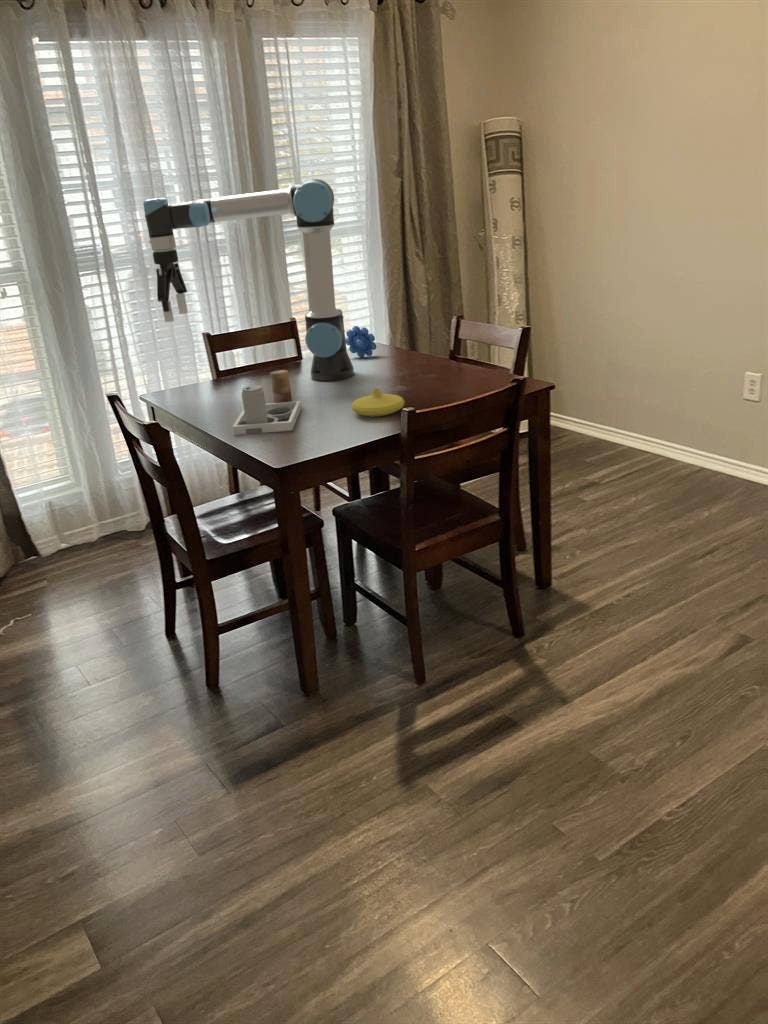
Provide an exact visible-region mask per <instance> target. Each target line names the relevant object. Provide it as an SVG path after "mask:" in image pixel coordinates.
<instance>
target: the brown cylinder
mask: <svg viewBox="0 0 768 1024" xmlns="http://www.w3.org/2000/svg"><path fill="white" fill-rule="evenodd" d="M269 374H270V382H271V383H270V384H271V389H272V395H273V396H272V397H273V403H280V402H293V398H292V396H293V395H292V389H291V382H290V375H289V371H288V370H285V369H280V370H279V369H278V370H274V371H271V372H270V373H269Z"/></svg>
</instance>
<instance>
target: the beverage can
mask: <svg viewBox="0 0 768 1024" xmlns="http://www.w3.org/2000/svg"><path fill="white" fill-rule="evenodd" d="M241 390H242V391H241V399H242V405H243V409H244V413H245V419H246V425H248V424H260V423H269V422H268V418H267V411H266V404H267V403H266V399H265V397H266V396H265V392H264V388H263V386H262V385H259V384H258V385H257V384H254V385H253V384H252V385H246V386H244V387H242V388H241Z"/></svg>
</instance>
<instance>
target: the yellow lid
mask: <svg viewBox="0 0 768 1024" xmlns="http://www.w3.org/2000/svg"><path fill="white" fill-rule="evenodd" d="M404 406H405V400H404V398H403V397H402V396H400V395H397V394H391V393H382V391H381V389H380V388H374V389H373V390H372V394H371V395H365V396H361V397H359V398H357V399H355V400H354V401H353V403H352V404H351V409H352V411H353V412H354V413H355V414H359V415H361V416H363V417H364V416H365V417H383V416H389V415H391V414H394V413H396V412H397V411H399V410H401V409H402V408H403V407H404Z"/></svg>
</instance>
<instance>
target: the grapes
mask: <svg viewBox="0 0 768 1024" xmlns="http://www.w3.org/2000/svg"><path fill="white" fill-rule="evenodd" d="M345 335H346V336H347V337H345V341H346V346H349V347H348V349H349V352H350V353H351V354H356V355H357V357H359V358H365V356H367V357H372V355H373V354H374V353H373V351H375V350H377V344H376V343H375V340H376V338H375V335H374V334H373V333H370V332H369V329H368V328H367V327H361V328H360V326H358V325H354V326H353V327H352V329H348V330H346V334H345Z"/></svg>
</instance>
